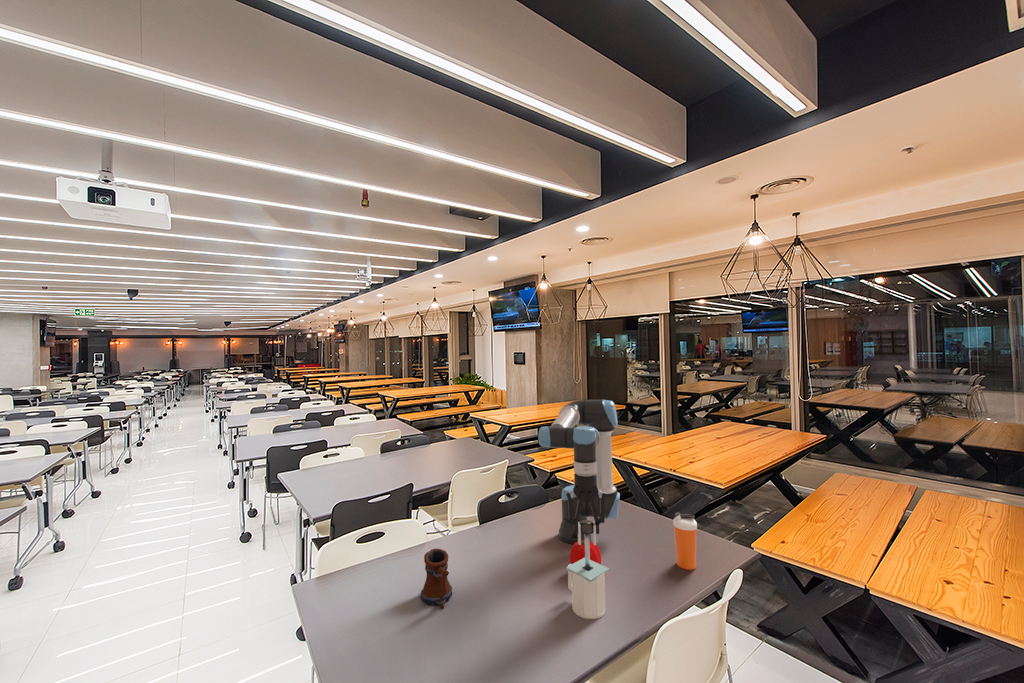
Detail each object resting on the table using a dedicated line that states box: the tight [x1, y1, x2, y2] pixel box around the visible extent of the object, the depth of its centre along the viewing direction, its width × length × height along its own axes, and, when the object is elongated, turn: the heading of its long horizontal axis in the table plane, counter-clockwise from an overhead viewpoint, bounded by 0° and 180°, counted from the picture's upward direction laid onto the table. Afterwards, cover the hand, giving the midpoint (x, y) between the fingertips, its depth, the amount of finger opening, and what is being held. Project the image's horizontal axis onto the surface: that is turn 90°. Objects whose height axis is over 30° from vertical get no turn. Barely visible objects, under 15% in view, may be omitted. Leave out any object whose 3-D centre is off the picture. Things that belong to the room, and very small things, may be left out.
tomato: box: [569, 540, 602, 565], centre depth 156 cm, size 12×12×13 cm
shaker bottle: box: [672, 511, 698, 571], centre depth 162 cm, size 9×9×20 cm
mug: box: [420, 548, 453, 609], centre depth 141 cm, size 18×12×15 cm, turn 25°
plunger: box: [580, 519, 594, 571], centre depth 136 cm, size 8×8×18 cm
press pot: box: [565, 558, 610, 620], centre depth 136 cm, size 14×11×13 cm
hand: (587, 543), depth 136 cm, fingers closed on plunger, 4 cm apart
